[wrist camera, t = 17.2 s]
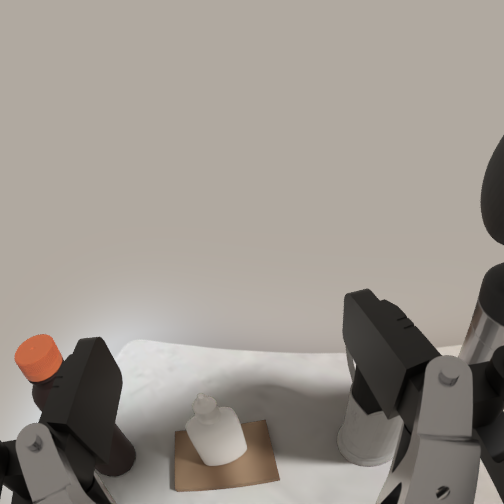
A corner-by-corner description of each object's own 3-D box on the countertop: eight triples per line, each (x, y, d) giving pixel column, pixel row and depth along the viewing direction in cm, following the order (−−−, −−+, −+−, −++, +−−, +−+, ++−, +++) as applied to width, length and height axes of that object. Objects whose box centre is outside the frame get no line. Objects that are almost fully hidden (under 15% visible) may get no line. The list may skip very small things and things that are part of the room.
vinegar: (140, 440, 32) (71, 328, 24) (132, 480, 26) (41, 375, 18) (100, 435, 32) (27, 327, 24) (88, 472, 26) (-3, 367, 18)
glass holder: (352, 477, 24) (379, 408, 19) (313, 396, 37) (314, 312, 31) (415, 447, 26) (458, 367, 20) (367, 377, 39) (381, 293, 33)
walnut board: (266, 423, 34) (265, 419, 34) (279, 480, 26) (279, 477, 25) (177, 435, 33) (175, 431, 33) (177, 491, 25) (174, 488, 24)
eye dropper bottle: (204, 438, 32) (177, 378, 27) (248, 439, 31) (233, 378, 26) (199, 466, 28) (167, 412, 23) (246, 468, 27) (228, 415, 22)
